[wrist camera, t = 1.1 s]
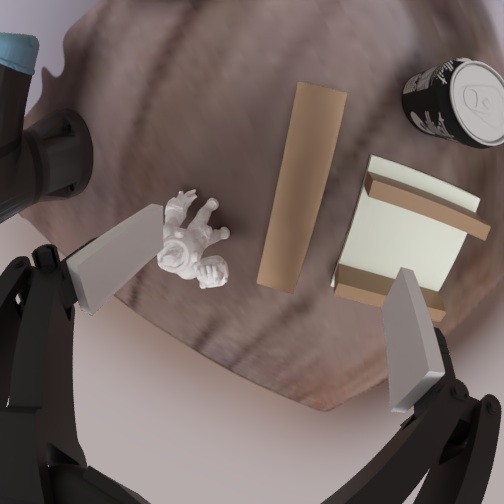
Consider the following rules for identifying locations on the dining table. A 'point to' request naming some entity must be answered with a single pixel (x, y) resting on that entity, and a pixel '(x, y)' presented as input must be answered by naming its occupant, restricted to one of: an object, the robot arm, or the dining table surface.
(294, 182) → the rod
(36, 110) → the dining table surface
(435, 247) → the rest stand
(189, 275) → the figurine
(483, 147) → the beverage can
